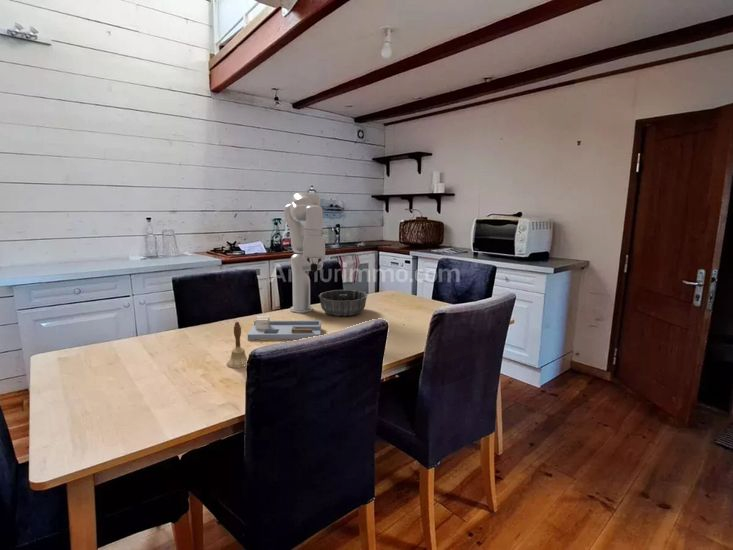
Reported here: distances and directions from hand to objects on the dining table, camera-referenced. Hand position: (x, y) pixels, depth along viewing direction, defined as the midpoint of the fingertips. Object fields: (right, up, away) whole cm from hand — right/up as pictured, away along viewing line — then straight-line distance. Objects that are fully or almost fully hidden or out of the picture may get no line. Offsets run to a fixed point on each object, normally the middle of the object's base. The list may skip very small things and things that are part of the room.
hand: (314, 272), depth 183 cm
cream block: (-23, -25, -5) cm, 34 cm away
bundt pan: (+12, -22, +32) cm, 41 cm away
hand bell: (-23, -34, -38) cm, 56 cm away
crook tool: (-4, -27, -10) cm, 29 cm away
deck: (-12, -28, -5) cm, 31 cm away
